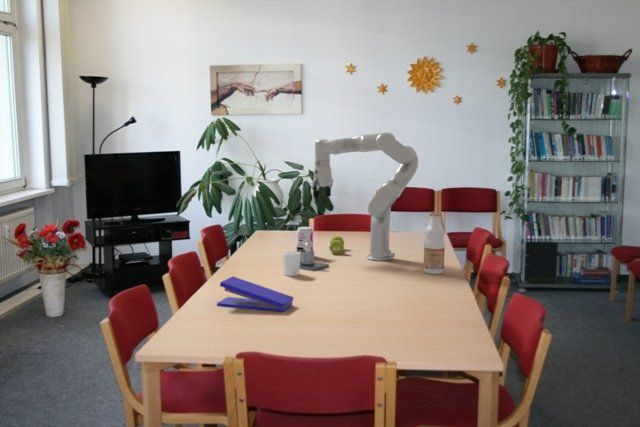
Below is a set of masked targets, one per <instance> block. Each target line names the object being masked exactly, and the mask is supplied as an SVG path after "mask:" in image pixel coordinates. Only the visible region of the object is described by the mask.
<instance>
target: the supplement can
mask: <svg viewBox="0 0 640 427" xmlns="http://www.w3.org/2000/svg"><path fill="white" fill-rule="evenodd" d="M305 243H311V250H314V230H313V227H310V226H299V227H298V228H297V230H296V252H299V250H304V245H305Z"/></svg>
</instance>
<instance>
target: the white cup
mask: <svg viewBox="0 0 640 427" xmlns="http://www.w3.org/2000/svg"><path fill="white" fill-rule="evenodd" d="M282 256H283V270H284V271H283V272H284V273H283V275H284V276H288V277H296V276H299V275H300V253H299V252H297V251H284V252H283V253H282Z"/></svg>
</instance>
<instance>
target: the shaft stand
mask: <svg viewBox="0 0 640 427" xmlns="http://www.w3.org/2000/svg"><path fill="white" fill-rule="evenodd" d="M304 252H311V243H305V245H304ZM329 266H330V264H329V263H324V262H317V261H314V262H311V263H302V262H300V268H299V270H300V269H302V270H306V271H312V272H315V271H318V270H321V269H326V268H328V267H329Z"/></svg>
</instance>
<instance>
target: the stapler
mask: <svg viewBox="0 0 640 427" xmlns="http://www.w3.org/2000/svg"><path fill="white" fill-rule="evenodd" d="M219 287H221V288H224V291H225V292H228V293H230V294H233V295H237V296H240V297H231V296H227V297H225V298H223V299H221V300H220V301H217V303H216V306H218V307H229V308H237V309H246V310H248V309H249V310H256V311H257V310H258V311H259V310H260V311H268V312H269V311H270V312H278V313H284V312H286V311H287V310H288V309H290V308H291V307H292V306H293V301H294V296H291V295H288V294H285V293H282V292H279V291H277V290H273V289H271V288H268V287H266V286H265V287H264V286H262V285H259V284H256V283H253V282H251V281H247V280H245V279H241V278H239V277H236V276H231V277H229V278H227V279H224V280H222V281H220V284H219Z"/></svg>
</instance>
